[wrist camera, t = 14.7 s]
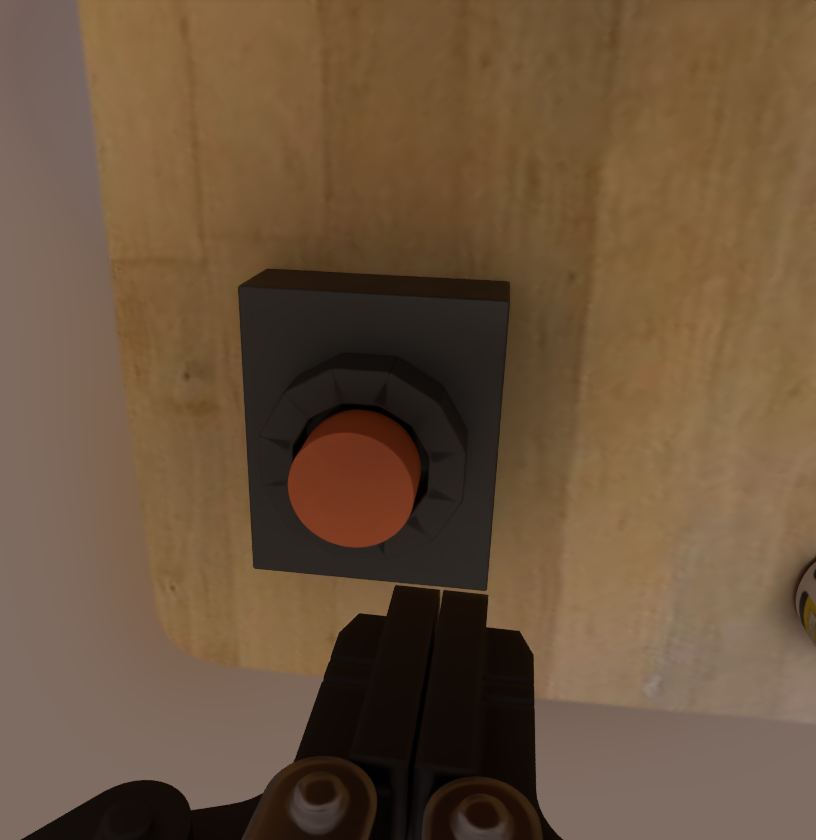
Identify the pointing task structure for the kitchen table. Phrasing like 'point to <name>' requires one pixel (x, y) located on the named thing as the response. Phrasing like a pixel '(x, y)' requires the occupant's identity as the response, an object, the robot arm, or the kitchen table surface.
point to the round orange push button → (355, 478)
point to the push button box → (380, 392)
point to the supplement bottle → (808, 602)
